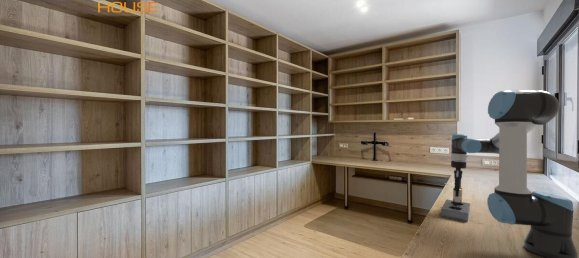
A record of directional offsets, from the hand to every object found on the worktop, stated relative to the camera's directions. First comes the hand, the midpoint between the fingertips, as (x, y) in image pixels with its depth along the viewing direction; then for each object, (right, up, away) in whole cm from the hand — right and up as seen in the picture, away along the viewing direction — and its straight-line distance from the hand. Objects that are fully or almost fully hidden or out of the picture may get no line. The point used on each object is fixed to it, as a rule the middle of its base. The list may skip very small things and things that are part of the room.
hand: (457, 200), depth 151 cm
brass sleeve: (0, -2, 0) cm, 2 cm away
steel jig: (-3, -6, -4) cm, 8 cm away
